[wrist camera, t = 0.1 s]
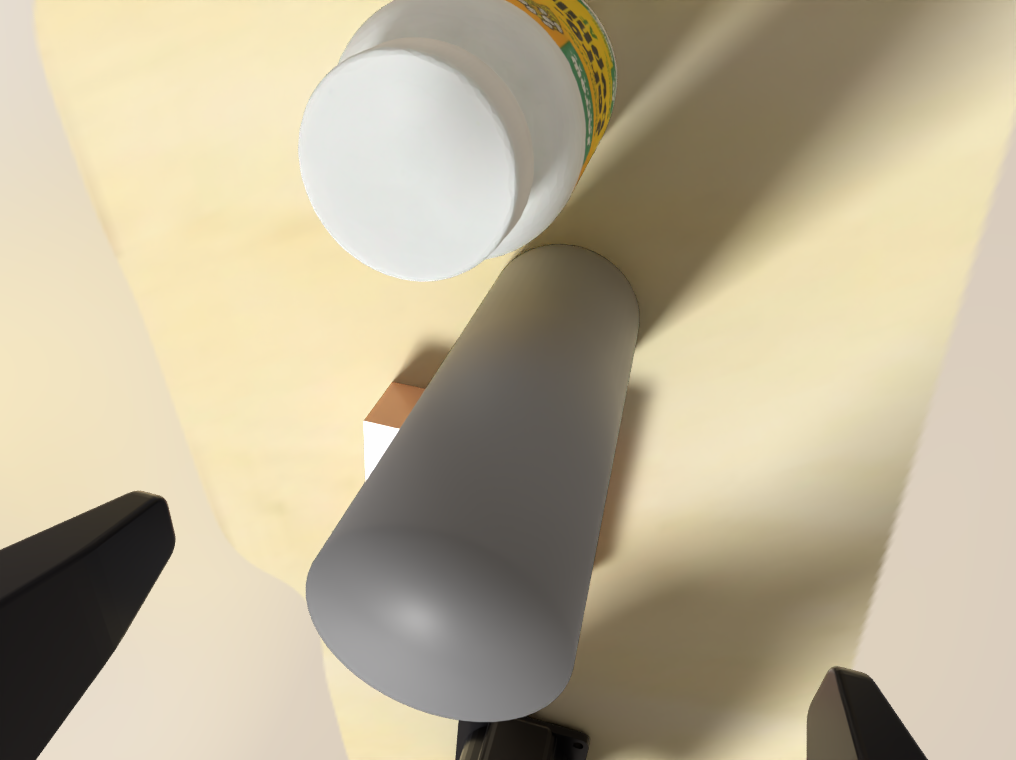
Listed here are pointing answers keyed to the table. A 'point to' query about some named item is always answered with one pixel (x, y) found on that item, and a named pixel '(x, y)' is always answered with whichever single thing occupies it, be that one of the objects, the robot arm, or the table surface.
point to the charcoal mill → (489, 501)
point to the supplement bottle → (455, 130)
